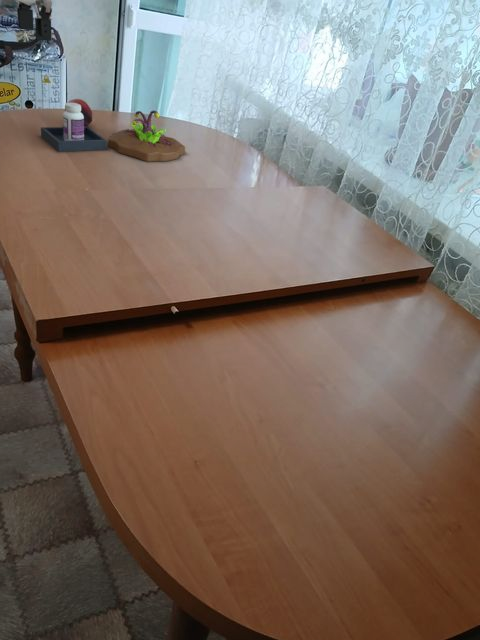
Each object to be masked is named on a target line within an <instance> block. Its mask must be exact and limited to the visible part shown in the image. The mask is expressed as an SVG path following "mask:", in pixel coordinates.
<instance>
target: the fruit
mask: <svg viewBox="0 0 480 640" xmlns="http://www.w3.org/2000/svg"><path fill="white" fill-rule="evenodd" d="M67 103H77V104H80V105H81V113H82V114H83V116H84V127H89V126H90V125H91V124H92V122H93V111H92V108H91V107H90V105H89V104H88V103H87V102H86V101H85V100H83V99H80V98H73V99H71V100H69V101H68V102H67ZM65 111H67V110H66V109H65V108H64V112H65Z"/></svg>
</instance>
